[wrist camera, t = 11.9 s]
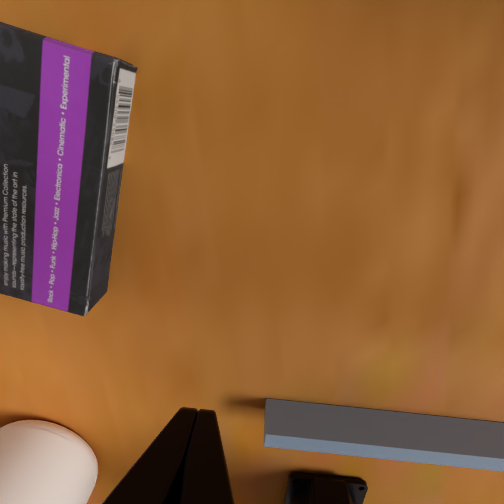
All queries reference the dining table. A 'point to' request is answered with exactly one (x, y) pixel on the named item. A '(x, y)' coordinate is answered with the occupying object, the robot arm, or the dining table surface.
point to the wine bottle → (45, 464)
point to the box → (59, 167)
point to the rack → (384, 434)
